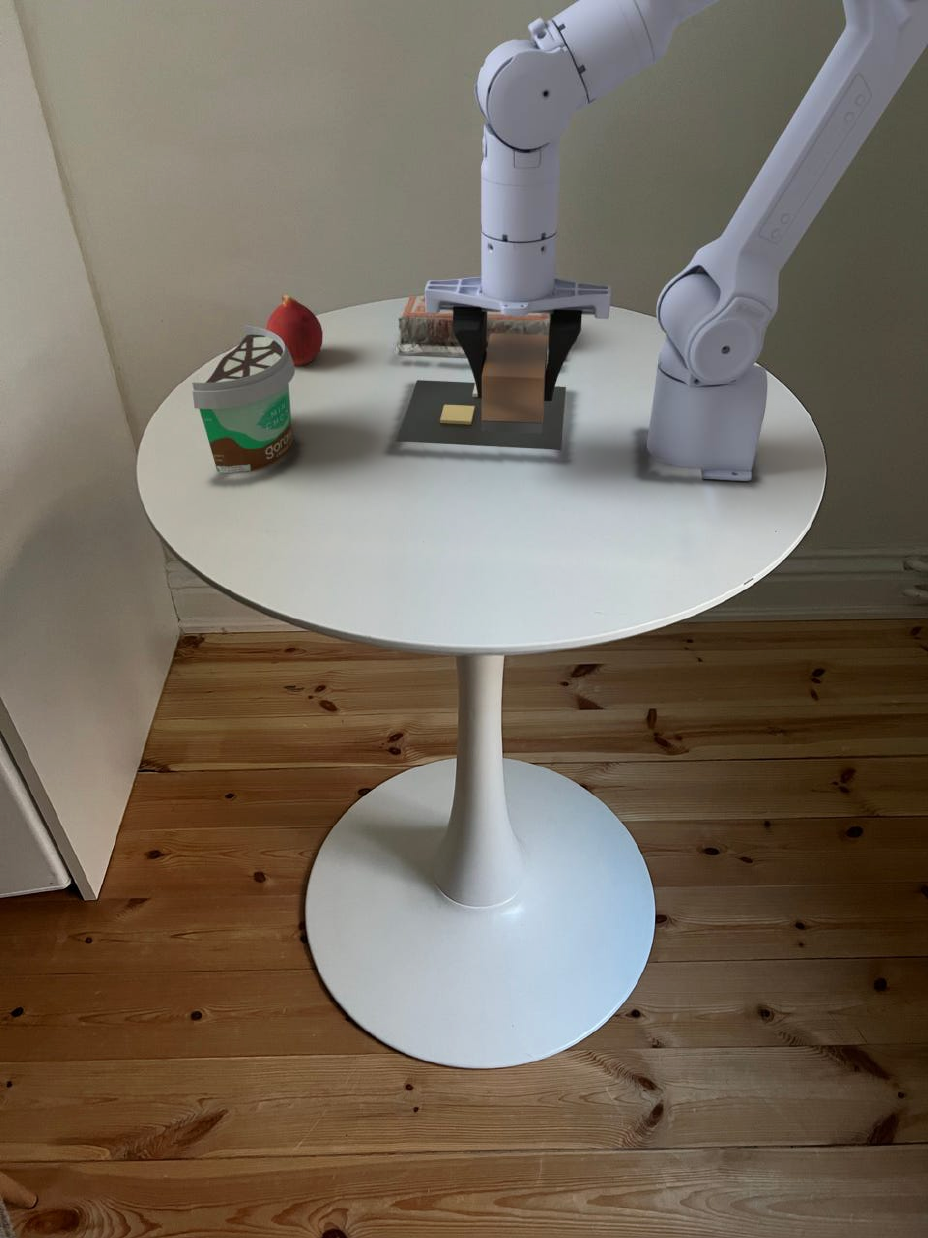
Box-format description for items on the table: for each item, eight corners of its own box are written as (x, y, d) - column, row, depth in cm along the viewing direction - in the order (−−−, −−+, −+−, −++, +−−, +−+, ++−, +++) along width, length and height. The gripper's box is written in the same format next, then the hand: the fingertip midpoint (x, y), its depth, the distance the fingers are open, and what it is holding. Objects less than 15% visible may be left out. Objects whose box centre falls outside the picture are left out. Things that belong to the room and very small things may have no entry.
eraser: (546, 388, 82) (548, 334, 79) (542, 433, 76) (544, 377, 73) (490, 386, 82) (490, 332, 79) (481, 431, 76) (481, 375, 73)
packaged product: (391, 320, 96) (406, 284, 103) (394, 363, 99) (408, 325, 107) (564, 326, 94) (567, 289, 102) (561, 370, 97) (564, 331, 105)
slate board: (569, 393, 94) (569, 384, 93) (564, 461, 84) (565, 451, 83) (414, 386, 95) (413, 377, 94) (391, 452, 85) (391, 442, 85)
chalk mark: (474, 409, 89) (474, 405, 89) (471, 424, 87) (471, 421, 87) (444, 407, 90) (444, 404, 89) (440, 423, 87) (439, 419, 87)
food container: (279, 497, 80) (261, 392, 73) (213, 489, 81) (189, 385, 74) (323, 426, 89) (311, 327, 82) (263, 421, 90) (246, 322, 83)
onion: (312, 351, 102) (303, 279, 96) (335, 371, 98) (326, 298, 93) (263, 364, 99) (251, 291, 94) (284, 385, 96) (273, 310, 90)
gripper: (416, 246, 67) (424, 413, 76) (617, 251, 66) (600, 420, 75) (429, 214, 72) (435, 374, 81) (615, 218, 71) (600, 380, 80)
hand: (514, 394), depth 78 cm, fingers closed on eraser, 5 cm apart
